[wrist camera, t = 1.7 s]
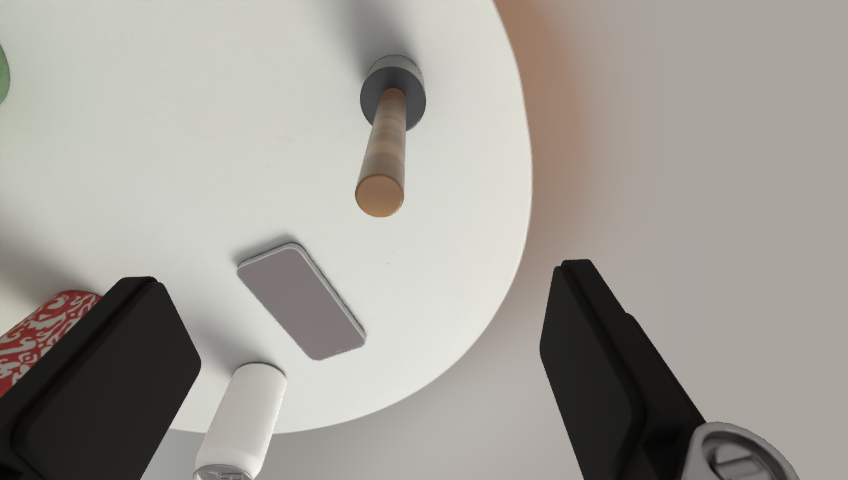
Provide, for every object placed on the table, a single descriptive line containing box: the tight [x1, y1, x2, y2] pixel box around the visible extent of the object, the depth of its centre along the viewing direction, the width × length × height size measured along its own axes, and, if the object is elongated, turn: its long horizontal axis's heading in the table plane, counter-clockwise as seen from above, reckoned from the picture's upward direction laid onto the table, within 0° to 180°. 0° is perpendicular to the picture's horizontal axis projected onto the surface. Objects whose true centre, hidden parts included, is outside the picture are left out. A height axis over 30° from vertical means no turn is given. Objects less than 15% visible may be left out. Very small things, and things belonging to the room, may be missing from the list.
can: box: [193, 363, 287, 480], centre depth 44 cm, size 6×6×12 cm
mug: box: [0, 291, 101, 398], centre depth 37 cm, size 13×9×14 cm
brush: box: [355, 55, 426, 217], centre depth 22 cm, size 4×4×19 cm
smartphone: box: [236, 243, 366, 361], centre depth 42 cm, size 7×1×15 cm
